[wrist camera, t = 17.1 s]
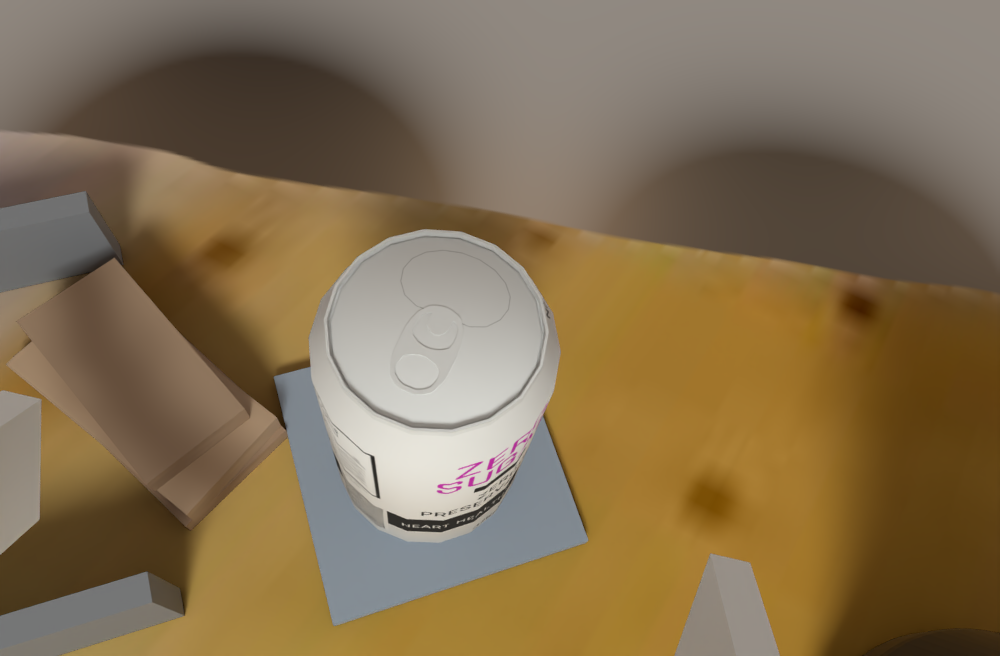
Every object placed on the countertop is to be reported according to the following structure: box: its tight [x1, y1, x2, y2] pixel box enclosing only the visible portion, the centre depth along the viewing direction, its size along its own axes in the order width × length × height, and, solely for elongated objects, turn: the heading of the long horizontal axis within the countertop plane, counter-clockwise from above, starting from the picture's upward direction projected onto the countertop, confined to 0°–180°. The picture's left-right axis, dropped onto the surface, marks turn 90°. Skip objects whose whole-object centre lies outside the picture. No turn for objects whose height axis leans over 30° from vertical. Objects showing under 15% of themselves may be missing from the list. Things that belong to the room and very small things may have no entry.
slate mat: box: [274, 367, 588, 626], centre depth 40 cm, size 12×12×1 cm
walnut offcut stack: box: [6, 258, 288, 531], centre depth 38 cm, size 7×12×4 cm, turn 49°
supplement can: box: [309, 229, 561, 543], centre depth 33 cm, size 8×8×15 cm
